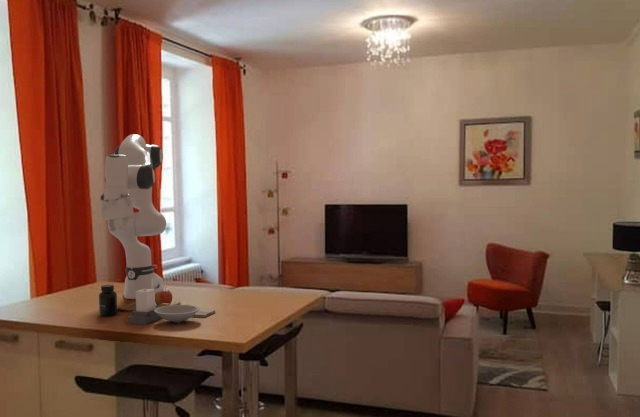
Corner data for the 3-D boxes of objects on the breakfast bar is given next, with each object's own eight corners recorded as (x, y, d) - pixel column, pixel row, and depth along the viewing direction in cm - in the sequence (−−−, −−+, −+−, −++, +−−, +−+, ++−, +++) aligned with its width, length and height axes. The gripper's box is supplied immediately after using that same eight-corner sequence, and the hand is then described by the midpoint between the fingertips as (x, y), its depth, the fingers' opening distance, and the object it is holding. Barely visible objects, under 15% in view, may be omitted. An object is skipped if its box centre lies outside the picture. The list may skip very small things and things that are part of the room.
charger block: (144, 311, 213) (143, 288, 212) (155, 312, 211) (154, 288, 211) (136, 314, 208) (135, 290, 208) (147, 315, 207) (146, 291, 206)
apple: (150, 308, 228) (150, 289, 228) (163, 304, 235) (162, 286, 234) (164, 310, 225) (163, 291, 224) (176, 306, 231) (175, 287, 231)
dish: (145, 325, 202) (145, 312, 201) (168, 316, 215) (168, 303, 215) (186, 329, 196) (186, 315, 195) (207, 318, 209) (207, 306, 209)
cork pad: (197, 311, 221) (197, 309, 221) (215, 312, 219) (215, 310, 219) (187, 316, 214) (186, 313, 214) (205, 317, 211) (204, 315, 211)
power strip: (167, 307, 230) (166, 297, 230) (183, 307, 228) (183, 298, 228) (127, 323, 206) (127, 312, 205) (145, 324, 203) (145, 313, 203)
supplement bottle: (97, 317, 215) (96, 287, 214) (101, 313, 222) (99, 284, 221) (116, 316, 216) (114, 286, 216) (119, 312, 223) (117, 283, 222)
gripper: (137, 193, 206) (138, 230, 205) (113, 197, 220) (114, 231, 220) (121, 193, 201) (121, 230, 201) (98, 197, 216) (98, 231, 215)
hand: (117, 231), depth 210 cm, fingers open, 8 cm apart
